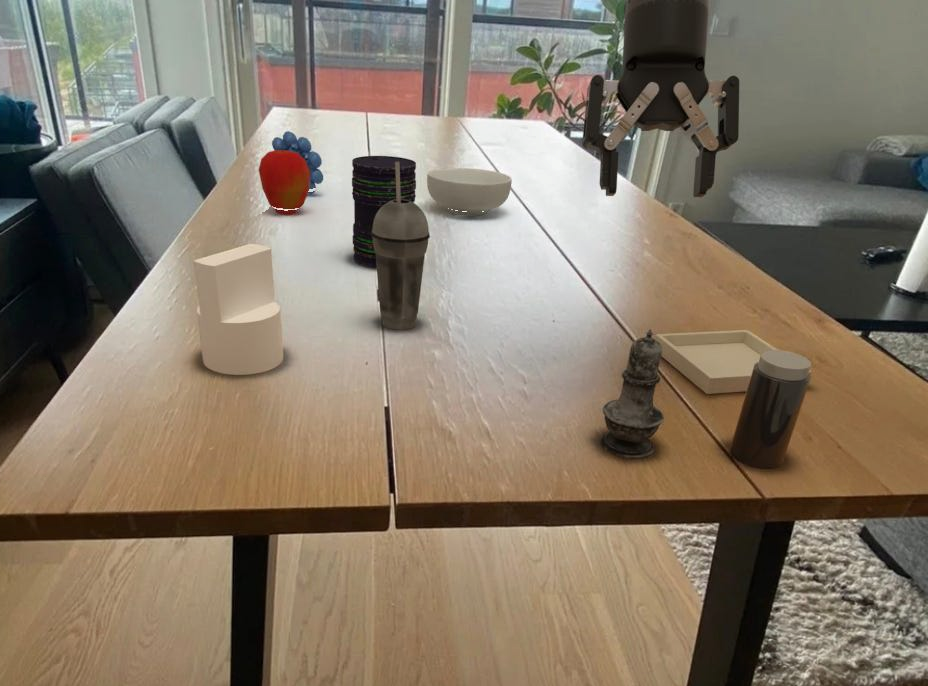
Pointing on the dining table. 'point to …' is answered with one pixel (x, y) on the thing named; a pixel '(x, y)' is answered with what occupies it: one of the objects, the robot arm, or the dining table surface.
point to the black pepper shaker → (770, 408)
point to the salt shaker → (635, 403)
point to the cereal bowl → (468, 189)
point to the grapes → (303, 149)
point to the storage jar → (376, 197)
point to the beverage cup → (399, 259)
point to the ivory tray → (714, 358)
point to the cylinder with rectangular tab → (238, 311)
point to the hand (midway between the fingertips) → (655, 195)
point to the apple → (284, 180)
